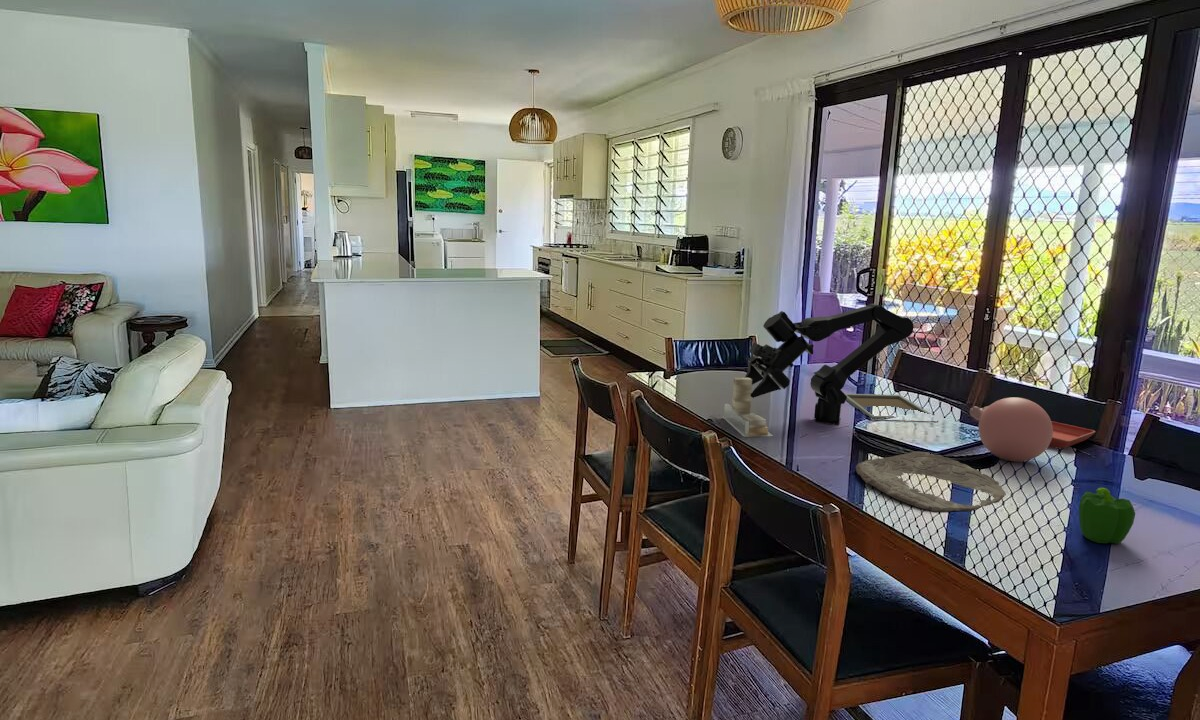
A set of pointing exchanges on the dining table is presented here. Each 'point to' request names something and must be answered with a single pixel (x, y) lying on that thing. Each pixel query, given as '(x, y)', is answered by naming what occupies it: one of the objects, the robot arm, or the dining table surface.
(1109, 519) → the bell pepper
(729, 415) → the offcut rack
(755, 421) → the offcut pile
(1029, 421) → the balloon
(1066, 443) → the plant saucer
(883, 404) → the picture frame
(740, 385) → the beige wooden block
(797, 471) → the dining table surface
